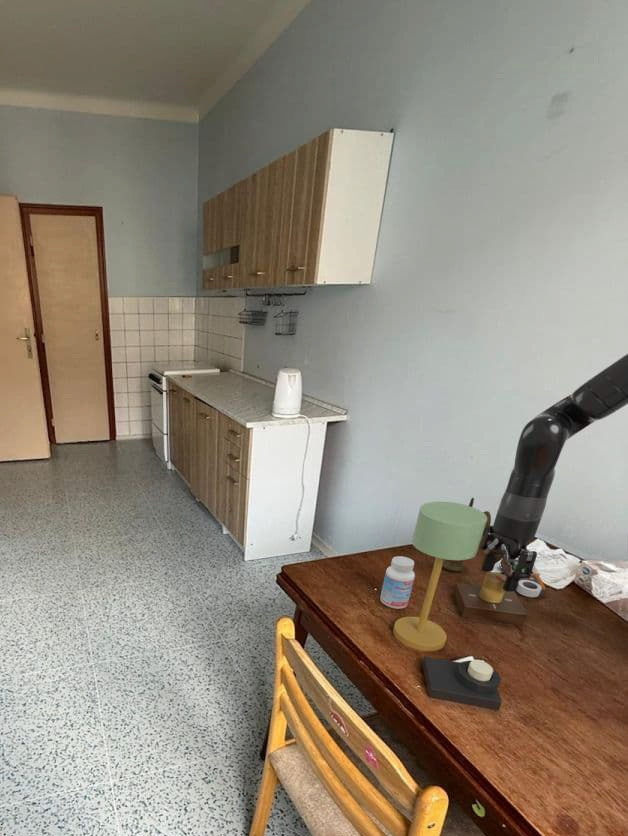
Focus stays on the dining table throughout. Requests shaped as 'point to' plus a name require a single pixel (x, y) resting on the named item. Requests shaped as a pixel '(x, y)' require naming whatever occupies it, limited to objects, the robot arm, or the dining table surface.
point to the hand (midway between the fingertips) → (497, 580)
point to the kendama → (457, 564)
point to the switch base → (460, 684)
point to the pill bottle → (398, 583)
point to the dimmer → (489, 606)
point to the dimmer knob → (493, 587)
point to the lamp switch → (480, 670)
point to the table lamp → (440, 562)
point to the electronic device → (527, 582)
